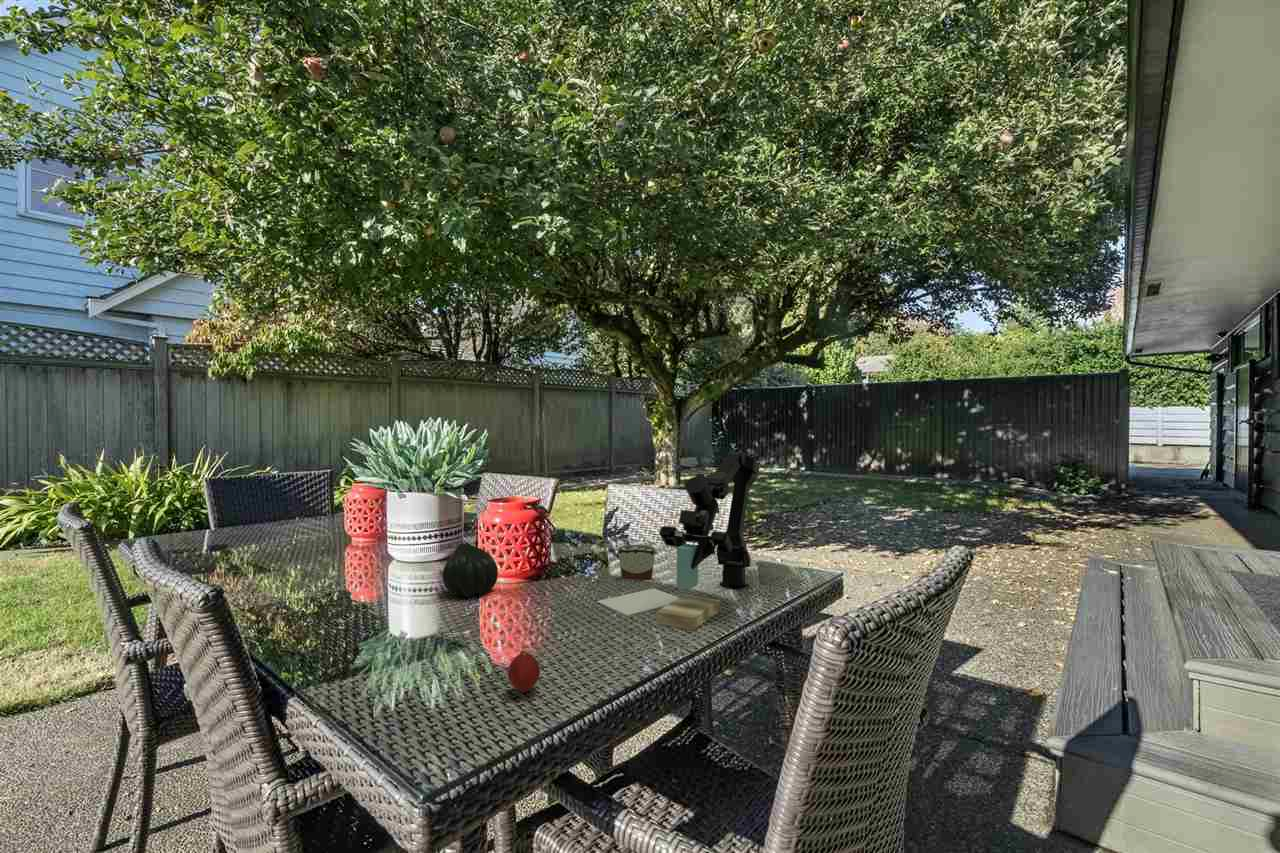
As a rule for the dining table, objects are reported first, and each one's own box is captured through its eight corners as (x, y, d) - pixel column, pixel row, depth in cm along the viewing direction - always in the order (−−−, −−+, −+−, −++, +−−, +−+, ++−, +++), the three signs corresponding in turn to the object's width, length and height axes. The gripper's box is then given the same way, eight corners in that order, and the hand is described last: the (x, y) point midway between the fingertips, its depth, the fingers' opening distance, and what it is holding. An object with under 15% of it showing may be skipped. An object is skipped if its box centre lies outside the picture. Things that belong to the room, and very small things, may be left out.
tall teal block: (685, 582, 157) (685, 543, 157) (697, 584, 155) (698, 545, 155) (676, 587, 153) (676, 547, 153) (689, 589, 151) (689, 549, 151)
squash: (511, 576, 172) (491, 531, 179) (463, 588, 162) (443, 541, 168) (493, 600, 180) (474, 557, 187) (445, 614, 170) (427, 568, 176)
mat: (653, 589, 178) (653, 588, 178) (686, 601, 167) (686, 600, 167) (596, 602, 166) (596, 601, 166) (627, 616, 155) (627, 614, 155)
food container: (657, 576, 193) (658, 544, 193) (656, 581, 187) (656, 548, 187) (619, 574, 194) (619, 543, 194) (616, 580, 188) (616, 547, 188)
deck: (684, 605, 163) (684, 594, 163) (719, 611, 159) (719, 600, 158) (656, 623, 149) (656, 611, 149) (694, 630, 145) (694, 618, 144)
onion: (510, 685, 115) (510, 643, 115) (541, 684, 116) (540, 642, 116) (506, 699, 110) (506, 655, 109) (538, 698, 110) (538, 654, 110)
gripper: (662, 495, 162) (641, 544, 152) (728, 500, 152) (710, 553, 143) (675, 520, 169) (656, 569, 159) (739, 527, 159) (723, 579, 150)
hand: (685, 567), depth 153 cm, fingers closed on tall teal block, 3 cm apart
